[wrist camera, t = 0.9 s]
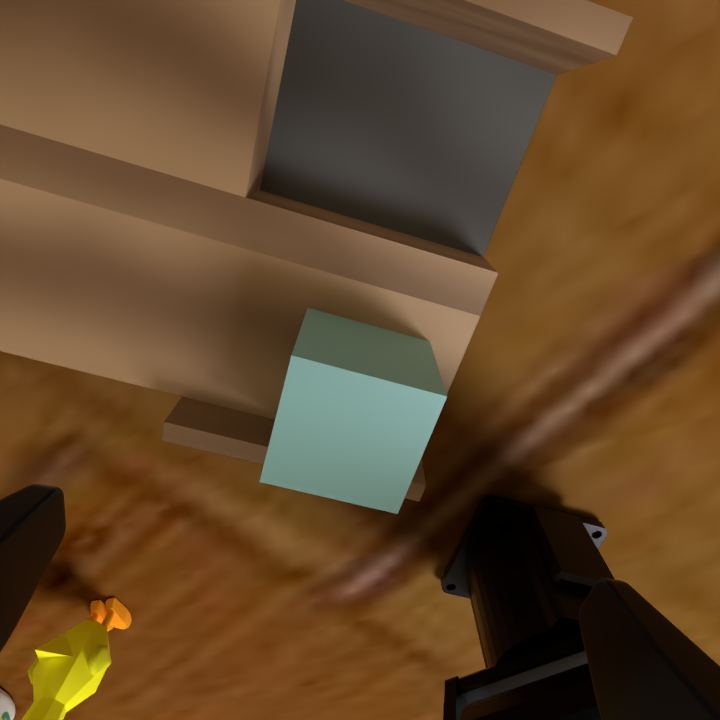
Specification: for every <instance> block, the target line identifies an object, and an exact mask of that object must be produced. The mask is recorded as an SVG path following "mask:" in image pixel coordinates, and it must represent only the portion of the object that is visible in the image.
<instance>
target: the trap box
mask: <svg viewBox="0 0 720 720" xmlns="http://www.w3.org/2000/svg"><path fill="white" fill-rule="evenodd" d="M632 19H633V17H630V16H627V15H625V14H622V13H619V12H617V11H614V10H611V9H608V8H606V7H603V6H600V5H598V4H595V3H592V2H590V1H587V0H0V351H2V352H6V353H10V354H14V355H18V356H22V357H26V358H30V359H34V360H38V361H42V362H46V363H50V364H54V365H58V366H62V367H66V368H70V369H74V370H78V371H82V372H86V373H90V374H94V375H98V376H102V377H106V378H110V379H114V380H119V381H123V382H127V383H131V384H135V385H139V386H143V387H147V388H151V389H155V390H159V391H163V392H167V393H171V394H175V395H179V396H182V398H181V399H180V401H179V402H178V403H177V405H176V406H175V408H174V409H173V410H172V412H171V413H170V415H169V416H168V417H167V419H166V420H165V422H164V428H163V435H162V441H166V442H170V443H174V444H179V445H183V446H187V447H191V448H195V449H200V450H204V451H208V452H212V453H216V454H221V455H225V456H229V457H233V458H238V459H242V460H246V461H250V462H254V463H259V464H263V465H264V462H265V458H266V454H267V450H268V446H269V442H270V438H271V434H272V430H273V426H274V423H275V419H276V415H277V411H278V407H279V403H280V399H281V395H282V391H283V387H284V383H285V379H286V375H287V371H288V367H289V363H290V359H291V355H292V352H293V349H294V346H295V343H296V341H297V338H298V335H299V332H300V329H301V326H302V323H303V320H304V317H305V314H306V311H307V308H311V309H314V310H318V311H322V312H325V313H329V314H332V315H336V316H340V317H343V318H347V319H350V320H354V321H358V322H361V323H365V324H369V325H372V326H376V327H379V328H383V329H387V330H390V331H394V332H397V333H401V334H405V335H408V336H412V337H415V338H419V339H423V340H426V341H430V343H431V346H432V350H433V353H434V356H435V359H436V362H437V365H438V369H439V372H440V375H441V378H442V381H443V385H444V388H445V391H446V394H448V391H449V389H450V386H451V384H452V382H453V379H454V377H455V375H456V372H457V370H458V367H459V365H460V363H461V360H462V358H463V356H464V353H465V351H466V348H467V346H468V344H469V341H470V339H471V337H472V334H473V332H474V329H475V327H476V325H477V322H478V320H479V318H480V315H481V313H482V310H483V308H484V306H485V303H486V301H487V299H488V296H489V294H490V292H491V289H492V287H493V284H494V282H495V280H496V277H497V275H498V272H497V271H496V270H495V269H494V268H493V267H492V266H491V265H490V264H489V263H488V262H487V261H486V260H485V259H484V258H483V256H484V254H485V251H486V249H487V246H488V244H489V241H490V239H491V236H492V234H493V231H494V229H495V226H496V224H497V221H498V219H499V216H500V214H501V211H502V209H503V206H504V204H505V201H506V199H507V196H508V194H509V191H510V189H511V187H512V184H513V182H514V179H515V177H516V174H517V172H518V169H519V167H520V164H521V162H522V159H523V157H524V154H525V152H526V149H527V147H528V144H529V142H530V139H531V137H532V134H533V132H534V129H535V127H536V124H537V122H538V119H539V117H540V114H541V112H542V109H543V107H544V104H545V102H546V99H547V97H548V94H549V92H550V90H551V87H552V85H553V82H554V80H555V77H556V75H558V74H561V73H564V72H567V71H570V70H573V69H576V68H579V67H582V66H585V65H588V64H591V63H594V62H597V61H600V60H603V59H606V58H609V57H612V56H616V55H617V53H618V50H619V48H620V46H621V44H622V41H623V39H624V37H625V35H626V32H627V30H628V28H629V25H630V23H631V21H632ZM425 487H426V481H425V475H424V469H423V463H422V458H421V460H420V462H419V465H418V467H417V469H416V472H415V474H414V476H413V479H412V481H411V484H410V486H409V488H408V491H407V493H406V495H405V498H406V499H410V500H414V501H418V502H419V501H420V499H421V496H422V494H423V492H424V490H425Z"/></svg>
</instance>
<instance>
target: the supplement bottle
mask: <svg viewBox="0 0 720 720" xmlns="http://www.w3.org/2000/svg"><path fill="white" fill-rule="evenodd" d="M14 716H15V705H14V702H13V700H12V698H11V697H10V696H9V695H8V694H7V693H6V692H5V691H3V690H2V689H1V688H0V720H13V718H14Z"/></svg>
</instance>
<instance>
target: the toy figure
mask: <svg viewBox="0 0 720 720" xmlns="http://www.w3.org/2000/svg"><path fill="white" fill-rule="evenodd" d="M131 621H132V620H131V615H130V612H129V611H128V609H127V608H126V607H125V606H124V605H123V604H121V603H120V602H119V601H118V600H117V599H116V598H110V599H107V600H106V605H105V604H104V603H103V602H102V601H101V600H96V601H92V602H91V616H90V618H89V620H85V621H83V622H81V623H80V624H78V625H76V626H75V627H73V628H71V629H70V630H68V631H66V632H65V633H63V634H61V635H60V636H58V637H56V638H55V639H53V640H51V641H49V642H48V643H46V644H44V645H42V646H41V647H39V648H37V649H35V651H36V654H37V656H38V658H37V659H36V660H35V662H34V663H33V664H32V665H31V667H30V668H29V669H28V671H27V672H28V675H29V678H30V681H31V684H33V694H34V703H33V704H32V705H31V707H30V708H29V710H28V711H27V712H26V714H25V715H24V716H23V718H22V719H21V720H63V719H64V716H65V714H66V712H67V711H69V710H70V709H72V708H73V707H75V706H76V705H77V704H79V703H80V702H82V701H83V700H85V699H86V698H88V697H89V696H91V695H92V694H93V693H95V692H96V689H97V687H98V685H99V683H100V681H101V679H102V677H103V675H104V673H105V671H106V669H107V667H108V666H109V665H110V664H111V663H112V661H111V657H110V652H109V642H108V633H107V631H110V630H111V629H113V627H116V628H119V629H126V628H128V627H129V626H130V624H131Z"/></svg>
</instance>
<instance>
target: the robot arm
mask: <svg viewBox="0 0 720 720" xmlns="http://www.w3.org/2000/svg"><path fill="white" fill-rule="evenodd" d="M489 506H494V507H492V508H488V507H489ZM65 528H66V521H65V506H64V494H63V491H62V490H61V489H60V488H58V487H53V486H47V485H41V484H33V485H30V486H27V487H25V488H23V489H21V490H19V491H17V492H15V493H13V494H11V495H9V496H7V497H5V498H3V499H1V500H0V652H1V650H2V649H3V647H4V646H5V644H6V642H7V641H8V639H9V638H10V636H11V634H12V632H13V631H14V629H15V627H16V625H17V623H18V622H19V620H20V618H21V616H22V614H23V612H24V611H25V609H26V607H27V605H28V603H29V601H30V599H31V597H32V596H33V594H34V592H35V590H36V588H37V586H38V584H39V583H40V581H41V579H42V577H43V575H44V573H45V571H46V570H47V568H48V566H49V564H50V562H51V560H52V558H53V556H54V555H55V553H56V551H57V549H58V547H59V545H60V543H61V541H62V539H63V537H64V533H65ZM595 531H596V532H595ZM606 536H607V530H606V529H605V527H604V525H603V524H602V523H601V522H599V521H595V520H591V519H587V518H583V517H579V516H577V515H573V514H569V513H564V512H560V511H556V510H552V509H548V508H544V507H540V506H536V505H529V504H525V503H521V502H517V501H513V500H509V499H505V498H501V497H496V496H487V497H485V498H484V499H483V500H482V501H481V502H480V504H479V506H478V508H477V510H476V512H475V514H474V516H473V518H472V520H471V522H470V524H469V526H468V528H467V530H466V532H465V534H464V536H463V537H462V539H461V541H460V543H459V545H458V547H457V549H456V551H455V553H454V555H453V557H452V559H451V561H450V563H449V565H448V567H447V569H446V571H445V573H444V575H443V576H442V578H441V586H442V590H443V591H444V592H445V593H448V594H453V595H457V596H462V597H466V598H470V600H471V604H472V609H473V613H474V617H475V622H476V626H477V631H478V635H479V640H480V644H481V648H482V653H483V657H484V662H485V666H486V669H483V670H480V671H478V672H475V673H472V674H469V675H467V676H464V677H461V678H459V677H458V676H456V677H454V678H451V679H448V680H446V681H445V697H444V715H443V720H720V666H719V665H718V664H717V663H715V662H714V661H713V660H712V659H711V658H710V657H709V656H708V655H707V654H705V653H704V652H703V651H702V650H701V649H700V648H699V647H698V646H697V645H695V644H694V643H693V642H692V641H691V640H690V639H689V638H688V637H687V636H685V635H684V634H683V633H682V632H681V631H680V630H679V629H678V628H677V627H675V626H674V625H673V624H672V623H671V622H670V621H669V620H668V619H666V618H665V617H664V616H663V615H662V614H661V613H660V612H659V611H658V610H656V609H655V608H654V607H653V606H652V605H651V604H650V603H649V602H648V601H646V600H645V599H644V598H643V597H642V596H641V595H640V594H639V593H638V592H636V591H635V590H634V589H633V588H632V587H631V586H630V585H628V584H627V583H625V582H623V581H620V580H615V579H614V577H613V575H612V574H611V572H610V570H609V568H608V567H607V565H606V563H605V561H604V559H603V558H602V556H601V554H600V552H599V551H598V548H599V547H600V545H601V544H602V542H603V541H604V539H605V538H606Z"/></svg>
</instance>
